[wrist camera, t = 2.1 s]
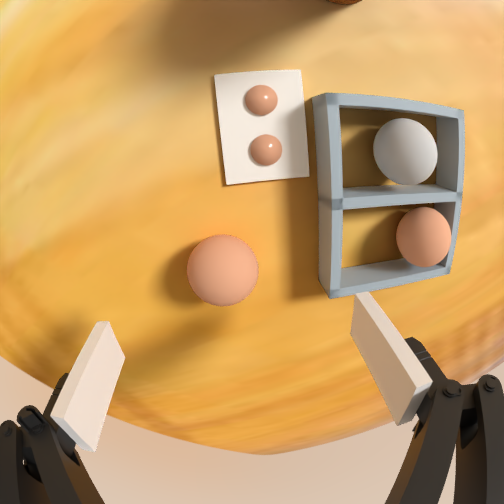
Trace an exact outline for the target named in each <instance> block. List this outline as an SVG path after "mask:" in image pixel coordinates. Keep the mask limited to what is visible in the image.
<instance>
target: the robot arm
mask: <svg viewBox="0 0 504 504" xmlns="http://www.w3.org/2000/svg"><path fill="white" fill-rule="evenodd" d="M350 334H351V336H352V338H353V340H354V342H355V344H356V345H357V347H358V349H359V351H360V353H361V355H362V357H363V359H364V361H365V363H366V364H367V366H368V368H369V370H370V372H371V374H372V376H373V378H374V380H375V382H376V384H377V386H378V388H379V390H380V392H381V394H382V396H383V398H384V400H385V402H386V404H387V406H388V408H389V410H390V412H391V414H392V416H393V419H394V421H395V423H396V425H397V426H399V425H401V424H404V423H407V422H409V421H411V420H412V419H413V418H414V416H415V414H417V415H418V417H419V420H418V422H417V424H416V426H415V427H414V429H413V431H415V432H414V435H413V438H412V441H411V443H410V446H409V449H408V452H407V455H406V457H405V460H404V462H403V465H402V467H401V469H400V472H399V474H398V477H397V479H396V481H395V483H394V486H393V488H392V490H391V492H390V494H389V496H388V498H387V500H386V503H385V504H438V501H439V498H440V495H441V493H442V490H443V487H444V484H445V481H446V477H447V474H448V471H449V467H450V464H451V460H452V456H453V452H454V448H455V444H456V475H455V492H454V502H453V504H504V394H503V390H502V386H501V383H500V381H499V380H498V379H497V378H496V377H495V376H493V375H488V374H487V375H483V376H482V377H481V378H480V379H479V381H478V382H477V384H469V385H461V384H460V383H459V382H457V381H455V380H449V379H447V378H446V376H445V375H444V374H443V372H442V371H441V369H440V368H439V367H438V365H437V364H436V362H435V361H434V360H433V358H432V357H431V355H430V354H429V353H428V351H426V349H425V347H424V346H423V345H422V343H421V342H419V341H418V340H416V339H415V338H413V337H410V338H407V339H403V337H402V336H401V335H400V333H399V332H398V330H397V329H396V328H395V326H394V325H393V324H392V322H391V321H390V319H389V318H388V317H387V315H386V314H385V313H384V311H383V310H382V309H381V307H380V306H379V305H378V303H377V302H376V301H375V300H374V298H373V297H372V296H371V294H370V293H369V292H368V291H367V292H361V293H356V294H355V300H354V309H353V317H352V325H351V332H350ZM124 360H125V356H124V354H123V352H122V350H121V348H120V346H119V344H118V341H117V339H116V337H115V335H114V333H113V330H112V328H111V326H110V323H109V321H98V322H97V323H96V324H95V326H94V328H93V330H92V332H91V333H90V335H89V337H88V339H87V341H86V342H85V344H84V346H83V348H82V350H81V352H80V354H79V356H78V358H77V360H76V362H75V363H74V365H73V367H72V369H71V371H70V373H65V374H64V375H63V376H62V377H61V378H60V379H59V381H58V383H57V385H56V387H55V388H56V389H54V391H53V393H52V394H53V395H51V398H50V400H49V402H48V404H47V406H46V408H45V411H44V413H43V415H42V414H41V413H40V412H39V410H38V409H37V408H36V407H34V406H31V405H29V406H25V407H24V408H22V409H21V410H20V412H19V413H18V415H17V422H18V423H19V424H20V425H21V427H18V426H17V425H16V424H15V423H14V422H13V421H11V420H7V421H4V422H3V423H2V424H1V426H0V504H105V503H104V501H103V500H102V498H101V496H100V495H99V493H98V491H97V489H96V488H95V486H94V484H93V482H92V480H91V478H90V477H89V475H88V473H87V471H86V469H85V467H84V465H83V463H82V461H81V459H80V456H79V454H78V452H77V451H76V450H75V444H77V445H78V446H79V447H80V448H81V449H83V450H88V451H92V452H96V448H97V445H98V441H99V437H100V433H101V430H102V427H103V423H104V420H105V417H106V414H107V410H108V407H109V404H110V401H111V398H112V395H113V392H114V389H115V386H116V383H117V380H118V377H119V374H120V371H121V368H122V366H123V363H124ZM23 460H24V465H23Z"/></svg>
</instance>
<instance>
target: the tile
mask: <svg viewBox="0 0 504 504" xmlns="http://www.w3.org/2000/svg"><path fill="white" fill-rule="evenodd" d="M214 78H215V88H216V97H217V106H218V115H219V124H220V133H221V142H222V151H223V159H224V168H225V176H226V184H227V185H230V184H238V183H247V182H256V181H265V180H275V179H286V178H298V177H309V160H308V144H307V130H306V118H305V107H304V96H303V86H302V77H301V70H265V71H249V72H236V73H226V74H217V75H214Z"/></svg>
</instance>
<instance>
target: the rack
mask: <svg viewBox="0 0 504 504" xmlns="http://www.w3.org/2000/svg"><path fill="white" fill-rule="evenodd" d="M312 105H313V116H314V129H315V143H316V160H317V181H318V214H319V282H320V283H321V285H322V287H323V288H324V290H325V292H326V294H327V295H328V297H329V299H332V298H338V297H343V296H349V295H354V294H356V293H361V292H367V291H368V292H370V291H375V290H380V289H385V288H389V287H394V286H399V285H403V284H408V283H412V282H417V281H421V280H425V279H430V278H434V277H438V276H442V275H446V274H450V269H451V265H452V260H453V255H454V250H455V245H456V239H457V233H458V226H459V219H460V212H461V203H462V193H463V180H464V160H465V125H464V110H460V109H456V108H451V107H446V106H442V105H437V104H431V103H426V102H420V101H414V100H407V99H400V98H392V97H383V96H373V95H361V94H346V93H324V94H320V95H317V96H314V97H312ZM339 108H353V109H371V110H384V111H395V112H404V113H413V114H420V115H427V116H434V117H436V127H437V154H438V156H437V167H436V184H415V185H383V186H363V187H347V188H343V178H342V148H341V130H340V115H339ZM420 203H434V209H435V210H436V211H438V212H439V213H441V214H442V215H443V216H444V218H445V219H446V220H447V222H448V224H449V227H450V230H451V245H450V248H449V251H448V253H447V255H446V256H445V257H444V258H443V260H441V261H440V262H439V263H437V264H436V265H433V266H430V267H419V266H415V265H413V264H411V263H410V262H408V261H407V260H406V259H405V258H402V259H396V260H390V261H384V262H378V263H372V264H366V265H359V266H353V267H347V268H341V259H342V229H343V210H345V209H356V208H367V207H380V206H392V205H406V204H420Z"/></svg>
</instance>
